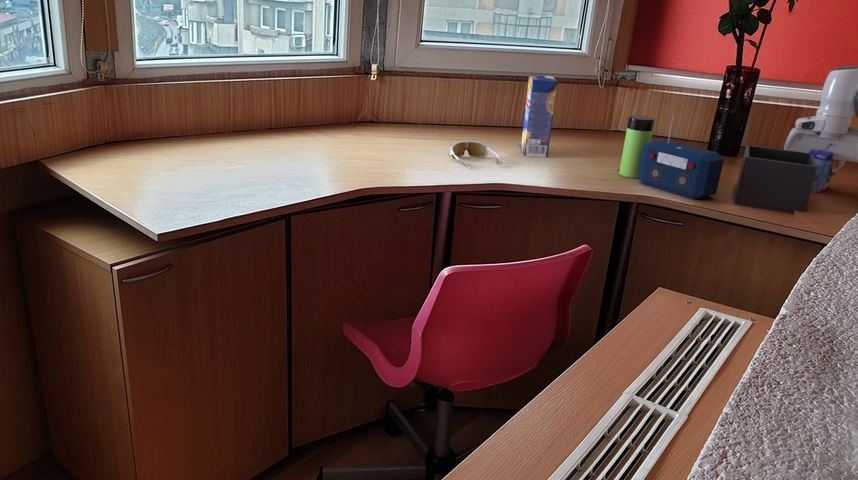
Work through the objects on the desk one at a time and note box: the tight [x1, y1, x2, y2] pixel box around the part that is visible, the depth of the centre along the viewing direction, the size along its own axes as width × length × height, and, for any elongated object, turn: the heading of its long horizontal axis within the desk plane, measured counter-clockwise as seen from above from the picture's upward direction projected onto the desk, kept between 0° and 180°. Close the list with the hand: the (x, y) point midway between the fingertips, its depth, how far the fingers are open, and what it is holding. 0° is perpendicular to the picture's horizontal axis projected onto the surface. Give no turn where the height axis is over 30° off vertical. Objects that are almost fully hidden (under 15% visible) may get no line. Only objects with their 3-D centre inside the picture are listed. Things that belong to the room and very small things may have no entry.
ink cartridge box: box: [809, 144, 838, 194], centre depth 205 cm, size 10×6×14 cm, turn 133°
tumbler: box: [618, 114, 656, 179], centre depth 212 cm, size 8×8×17 cm
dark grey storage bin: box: [733, 144, 817, 214], centre depth 193 cm, size 17×18×13 cm
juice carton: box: [520, 74, 558, 158], centre depth 232 cm, size 12×8×24 cm, turn 176°
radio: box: [636, 115, 725, 200], centre depth 198 cm, size 21×9×20 cm, turn 35°
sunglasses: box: [449, 140, 501, 169], centre depth 220 cm, size 14×15×5 cm
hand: (817, 173), depth 206 cm, fingers closed on ink cartridge box, 6 cm apart
